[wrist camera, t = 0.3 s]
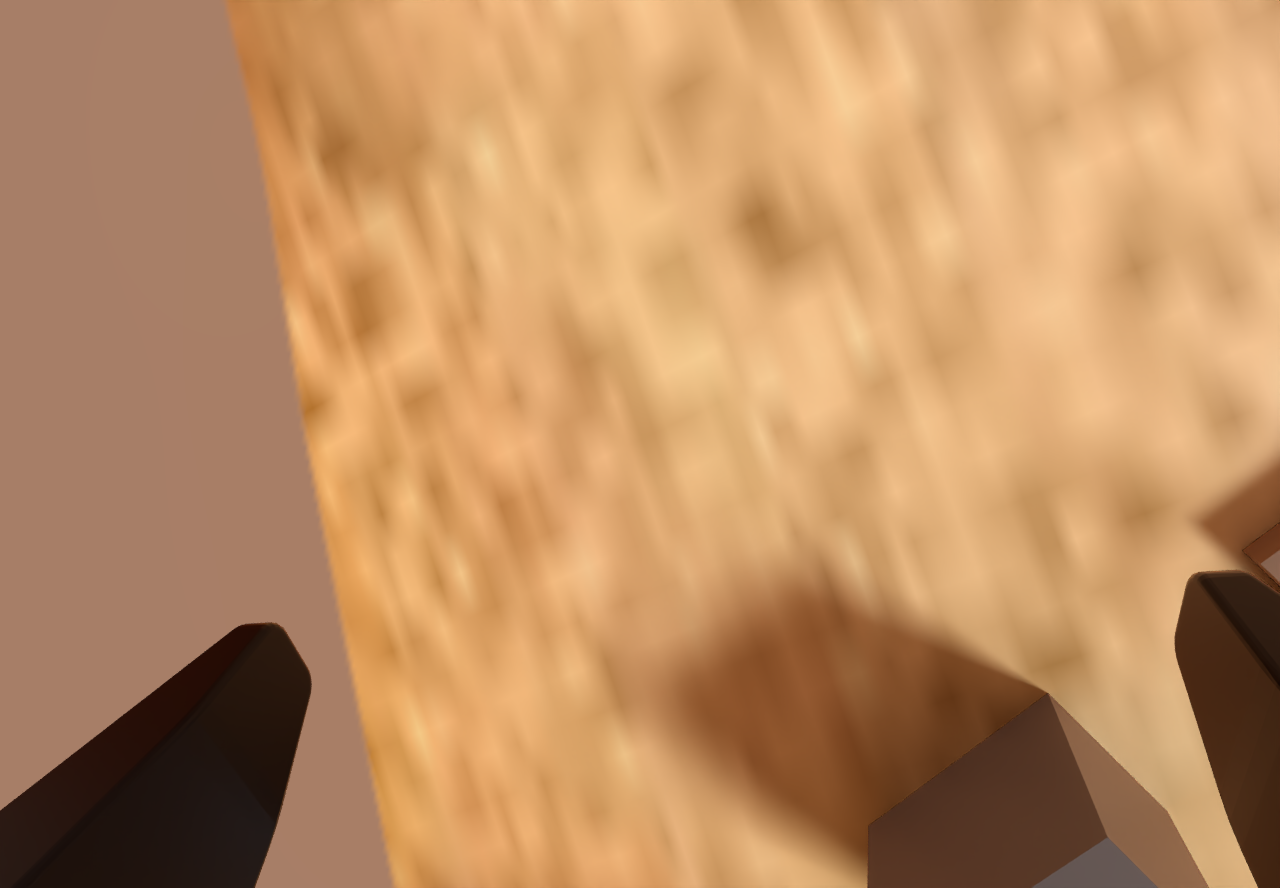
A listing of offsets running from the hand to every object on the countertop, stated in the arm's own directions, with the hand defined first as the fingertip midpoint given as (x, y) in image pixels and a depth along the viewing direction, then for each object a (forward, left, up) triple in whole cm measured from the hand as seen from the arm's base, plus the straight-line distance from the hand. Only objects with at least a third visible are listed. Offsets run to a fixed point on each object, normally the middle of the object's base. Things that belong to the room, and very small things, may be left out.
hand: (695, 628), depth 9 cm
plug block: (-11, +4, -14) cm, 18 cm away
